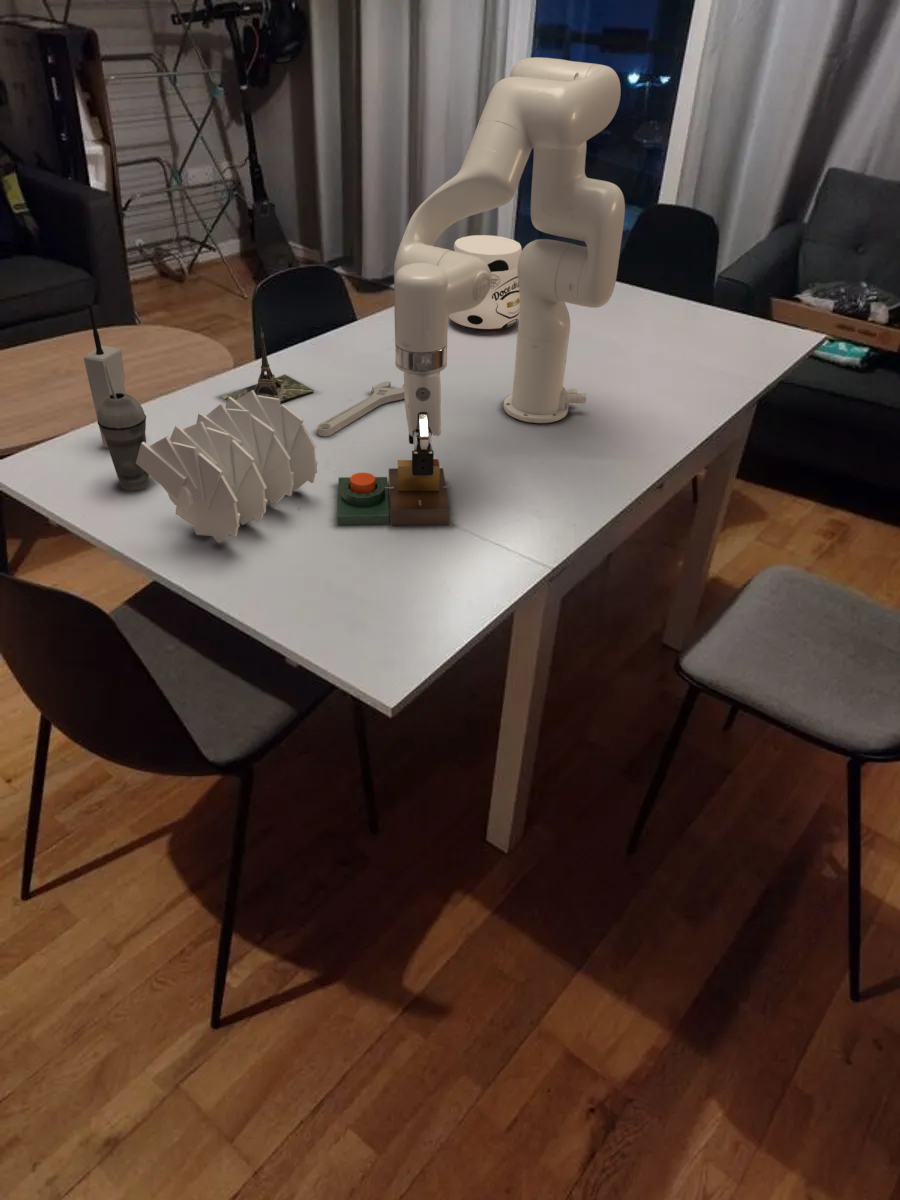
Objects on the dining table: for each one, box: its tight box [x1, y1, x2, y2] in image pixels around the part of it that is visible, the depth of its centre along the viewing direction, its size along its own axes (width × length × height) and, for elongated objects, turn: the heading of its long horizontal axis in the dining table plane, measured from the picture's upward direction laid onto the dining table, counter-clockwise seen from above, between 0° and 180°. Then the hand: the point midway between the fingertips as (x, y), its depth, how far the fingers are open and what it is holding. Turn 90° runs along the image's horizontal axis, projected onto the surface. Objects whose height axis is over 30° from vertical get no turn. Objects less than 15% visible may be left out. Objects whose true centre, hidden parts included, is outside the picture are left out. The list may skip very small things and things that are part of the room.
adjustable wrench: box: [316, 380, 405, 438], centre depth 168 cm, size 25×6×2 cm, turn 142°
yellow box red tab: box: [397, 458, 441, 491], centre depth 139 cm, size 6×2×5 cm, turn 95°
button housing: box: [336, 476, 390, 526], centre depth 141 cm, size 12×8×4 cm, turn 5°
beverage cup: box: [97, 365, 150, 492], centre depth 138 cm, size 7×7×20 cm
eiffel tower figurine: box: [221, 326, 315, 402], centre depth 169 cm, size 15×10×13 cm
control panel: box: [385, 467, 453, 527], centre depth 142 cm, size 13×11×3 cm
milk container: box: [448, 234, 523, 332], centre depth 202 cm, size 17×17×18 cm
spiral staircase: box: [136, 390, 319, 544], centre depth 134 cm, size 18×18×25 cm
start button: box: [349, 472, 376, 494], centre depth 140 cm, size 4×4×2 cm
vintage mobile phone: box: [83, 302, 127, 449], centre depth 147 cm, size 4×5×25 cm
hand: (420, 458), depth 138 cm, fingers open, 9 cm apart
